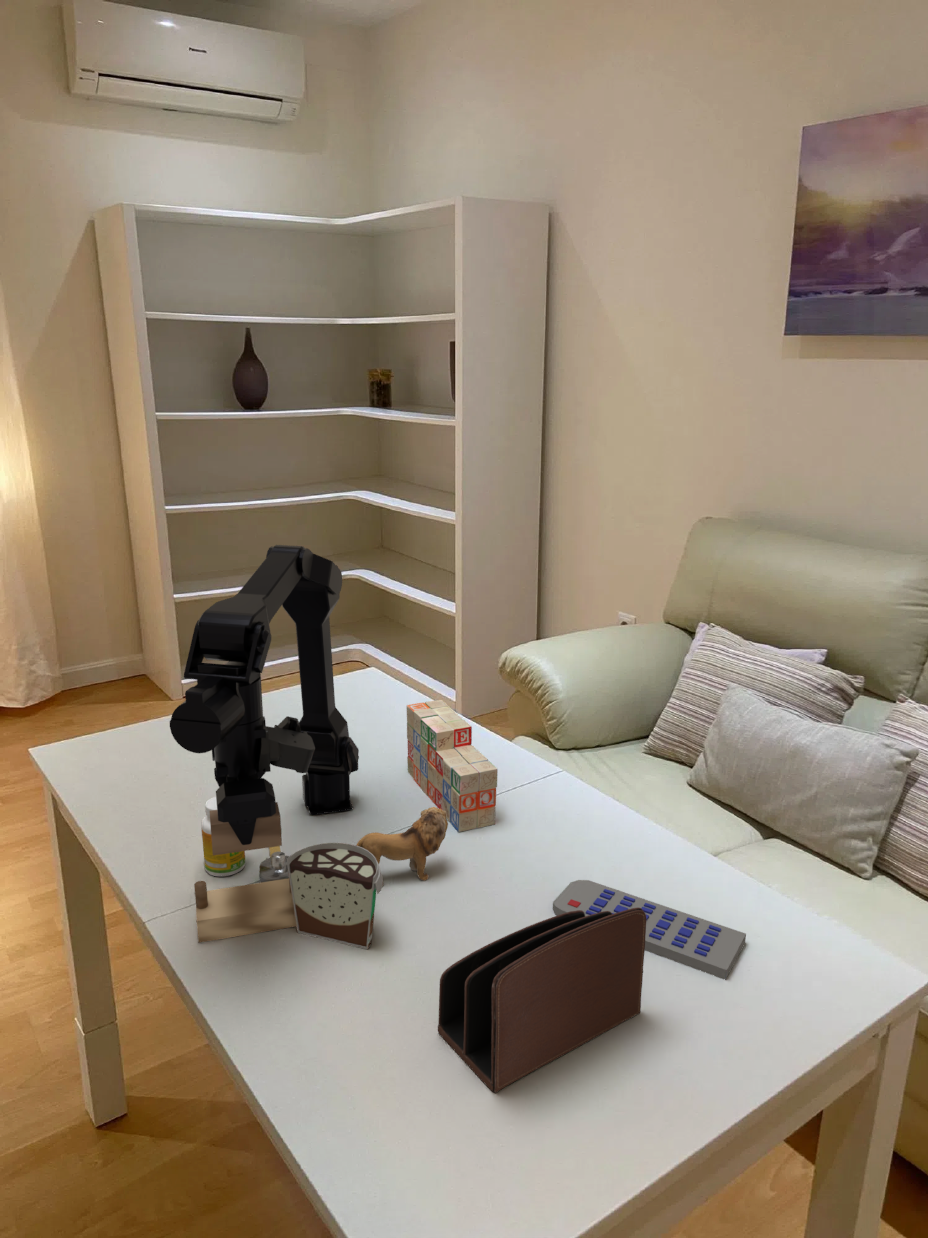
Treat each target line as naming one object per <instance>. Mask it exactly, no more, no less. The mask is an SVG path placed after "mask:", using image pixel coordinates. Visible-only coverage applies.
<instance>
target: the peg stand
mask: <svg viewBox="0 0 928 1238" xmlns="http://www.w3.org/2000/svg"><path fill="white" fill-rule="evenodd" d="M193 887H194V898H195V899H194V900H195V915H196V928H197V931H196V932H197V940H198V943H199V944H200V943H205V942H211V941H217V940H223V939H229V938H234V937H241V936H242V937H243V936H247V935H254V934H259V933H265V932H272V931H277V930H282V929H289V928H295V927H296V928H297V926H296V919H295V913H294V906H293V900H292V893H291V887H290V880H289V878H288V879H281V880H275V881H268V882H262V883H260V882H257V883H249V884H243V885H237V886H230V887H229V886H228V887H223V888H217V889H210V890H208V889H207V882H206V880H198V881H195V882H194V884H193Z"/></svg>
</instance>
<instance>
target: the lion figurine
mask: <svg viewBox="0 0 928 1238" xmlns="http://www.w3.org/2000/svg"><path fill="white" fill-rule="evenodd" d="M448 827H449V821H448V819H447V818H446V811H442V810H441V809H439V808H438V807H436V806H432V807H429V808H427V809H424V810H422V811H421V812H420V817H419V818H418V819H417V820H416V821H414V822H413V823H412V826H411V827H409V828H407V829H406V830H405V831H404V832H400V833H391V834H389V833H388V834H387V833H382V832H371V833H370V832H369V833H367V834H365V835H364V836H362V837H361V838H360V839H359V840H358V841H357V843H356V846H359V847H362V848H364V849H366V850H368V851H369V852H370V853H372V854H373V856H374V857H375V858H376V860H377V862H378V864H379V865H380V863H381V857H384V858H385V859H388V860H390V861H396V862H397V861H398V862H399V861H406V860H409V865H408V866H409V868H410V870H411V871H414V872H415V871H416V874H417V876H418V879H419V880H421V881H428V880H429V874H427V873H425V869H426V865H427V857H430V856H431V855H433V854H436V852H438V851H439V849H440V847H441V845H442V843H443V841H444V840H445V838H446V832H447V829H448ZM384 885H385V884H384V881H383V885H382V887H383V886H384Z"/></svg>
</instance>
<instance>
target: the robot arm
mask: <svg viewBox="0 0 928 1238" xmlns="http://www.w3.org/2000/svg"><path fill="white" fill-rule="evenodd" d="M342 574H343V573H342V571H341V569H340V568H339V566H338V565H337V564H335V562H334V561H333V560H330V559H327V558H325V557H323V556H320V555H318V554H315V553H314V552H312V550H310V549H309V548H307V547H305V546H302V545H286V544H285V545H284V544H283V545H282V544H275V545H274V546H273V545H272V546H270V547H268V549H267V552H266V557H265V559H264V560H263V562H262V563H261V564H260V565H259V566H258V567H257V569H256V570H255V571H254V572H253V574H252V575H251V576H250V577H249V579H248V580H247V582H245V584H244V585H243V586H242V587H241V589H240V590H239V591H238V592H237V593H236V594H235V595H234V596H232V597H228V598H225V599H222V600H218V601H216V602H215V603H213V604H211V606H209V607H208V608H207V609H206V610H205V611H204V612H203V613H202V614H201V616H200V617H199V619H198V620H197V622H196V623H195V625H194V629H193V634H192V638H191V642H190V647H189V650H188V655H187V660H186V664H185V666H184V667H185V668H184V672H183V678H184V679H185V680H196V685H194V686H192V687H189V688H188V689H186V691H185V693H184V695H185V696H184V697H185V700H184V701H183V702H182V703H180V704H179V705H178V706H177V707H176V708H175V709H174V710H173V713H172V714H171V718H170V720H169V728H170V732H171V736H172V737H173V739H174V740H175V742H176V743H177V745H179V746H180V747H182V748H183V749H184V750H186V751H188V752H190V753H193V754H206V753H208V752H211V758H212V761H213V762H214V764H215V766H214V768H213V771H214V779H215V781H216V784H217V785H218V788H217V789H216V790H215V797H216V801H217V813H218V821H221V822H228V823H229V824H230V826H231V828H232V829H233V831H234V832H235V834H236V836H237V837H238V839H239V841H240V842H241V844H242V845H248V844H251V843H252V838H253V833H254V829H255V824H256V819H257V818H261V817H269V816H272V815H274V814H275V813H276V802H277V801H276V795H275V791H274V786H273V783H271V782H270V781H268V780H267V779H266V778H264V777H263V776H264V775H265V774H266V773H269V772H271V771H272V770H271V765H272V766H274V767H276V768H282V769H287V770H291V771H295V772H296V773H298V774H303V775H301V782H302V783H301V784H302V800H303V802H304V806H305V807H307V809H308V812H309V815H312V816H316V815H323V814H329V813H338V812H344V811H345V812H346V811H351V810H353V804H352V799H351V791H350V790H351V788H350V787H351V786H350V776H351V774H352V773H354V772H358V771H359V760H360V756H359V753H360V751H359V747H358V746H357V745H356V743H355V742H354V740H353V739H352V737H351V736H350V733H349V726H348V725H349V724H348V721H347V719H346V718H345V717H344V716H343V715H342V713H341V712H340V711H339V710H338V708H337V707H336V697H335V682H334V668H333V667H334V666H333V654H332V653H333V650H332V640H331V639H332V638H331V637H332V636H331V623H330V622H331V621H330V616H331V614H332V613H333V611H334V609H335V607H336V605H337V603H338V602H339V600H340V593H341V591H342V587H343V575H342ZM281 607H282V608H283V610H284V611H285V612H286V613H287V615H288V616H289V617H290V618H291V620H292V621H293V622H294V625H295V632H296V633H295V634H296V645H297V658H298V670H299V679H300V680H299V681H300V692H301V695H300V696H301V705H302V717H301V718H300V720H299V718H298V717H292V716H285V717H284V718H283V719H282V721H280V723H278V724H275V725H274V727H272V726H267V725H266V724H267V723H266V718H265V716H264V708H263V693H262V692H263V691H262V677H261V676H262V675H261V674H263V672H264V667H265V665H266V660H267V657H268V653H269V650H270V647H271V642H272V632H271V628H270V623H271V621H272V619H273V618H274V617H275V615H276V614H277V613H278V611H279V610H280V608H281ZM204 659H206V660H208V661H222V662H226V663H224V664H223V663H211V662H210V663H209V662H203V660H204Z"/></svg>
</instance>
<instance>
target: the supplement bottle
mask: <svg viewBox="0 0 928 1238" xmlns="http://www.w3.org/2000/svg"><path fill="white" fill-rule="evenodd" d="M204 808H205V809H204V810H205V811H204V812H205V816H204V817H203V818H202V820H201V838H202V849H203V864H204V870H205V871H206V873H207V874H209V875H211V876H215V877H229V876H233V875H235V874H237V873H239V872H240V871H242V870H243V869H244V867H245V865H246V851H241V852H234V853H227V854H220V855H213V850H212V838H211V825H210V812H209V811H211V810H217V801H216V796H213V797H211V798H209V799H208V800H206V802H205V806H204Z"/></svg>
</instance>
